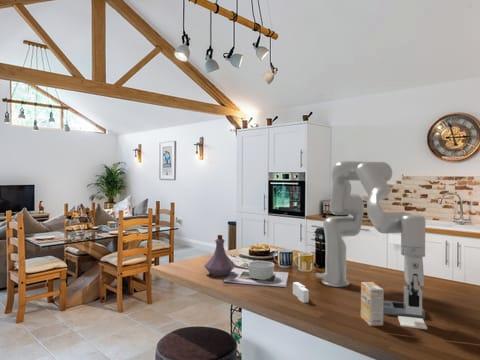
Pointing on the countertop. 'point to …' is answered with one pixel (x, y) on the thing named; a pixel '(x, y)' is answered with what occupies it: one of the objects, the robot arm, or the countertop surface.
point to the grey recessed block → (399, 310)
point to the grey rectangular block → (408, 308)
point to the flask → (219, 260)
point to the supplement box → (372, 303)
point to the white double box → (301, 292)
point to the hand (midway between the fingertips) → (412, 303)
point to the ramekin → (261, 269)
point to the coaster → (412, 322)
